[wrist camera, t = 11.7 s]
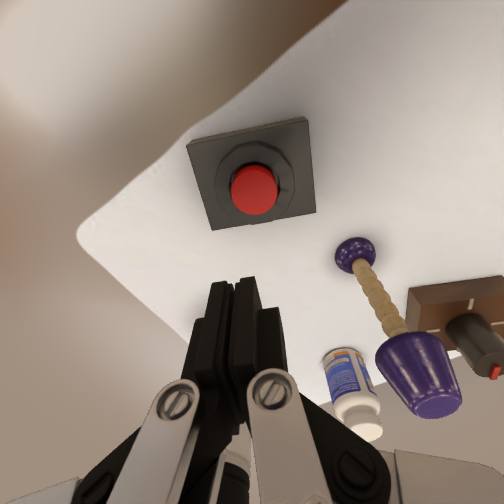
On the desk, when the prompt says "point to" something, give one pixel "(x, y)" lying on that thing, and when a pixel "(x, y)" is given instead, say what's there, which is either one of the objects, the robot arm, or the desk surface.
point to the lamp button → (254, 190)
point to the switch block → (255, 153)
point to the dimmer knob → (478, 344)
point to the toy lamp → (403, 343)
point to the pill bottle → (353, 393)
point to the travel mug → (236, 470)
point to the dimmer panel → (455, 306)
